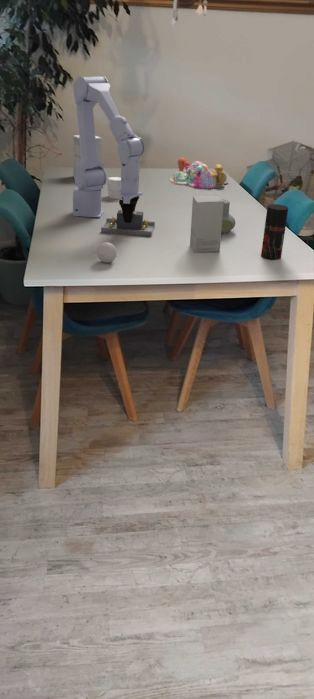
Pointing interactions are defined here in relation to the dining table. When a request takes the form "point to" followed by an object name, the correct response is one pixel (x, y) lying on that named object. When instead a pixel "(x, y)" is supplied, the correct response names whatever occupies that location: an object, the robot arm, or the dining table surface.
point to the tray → (112, 228)
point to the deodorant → (274, 231)
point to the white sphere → (106, 252)
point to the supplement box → (78, 151)
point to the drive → (135, 223)
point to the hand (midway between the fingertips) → (128, 220)
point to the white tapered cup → (114, 187)
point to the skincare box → (206, 223)
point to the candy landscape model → (199, 175)
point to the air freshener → (227, 218)
